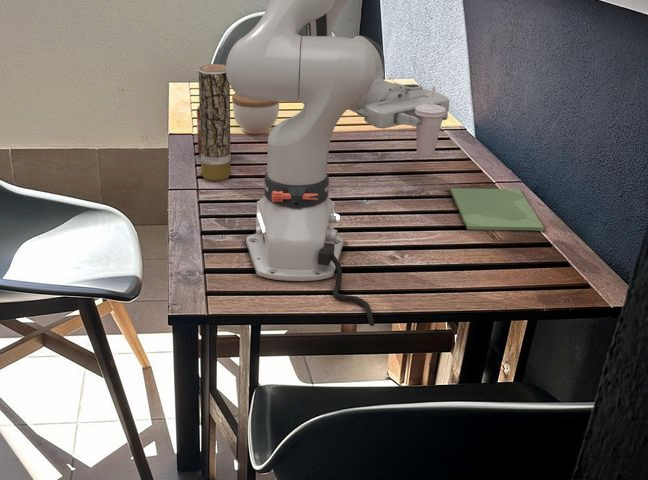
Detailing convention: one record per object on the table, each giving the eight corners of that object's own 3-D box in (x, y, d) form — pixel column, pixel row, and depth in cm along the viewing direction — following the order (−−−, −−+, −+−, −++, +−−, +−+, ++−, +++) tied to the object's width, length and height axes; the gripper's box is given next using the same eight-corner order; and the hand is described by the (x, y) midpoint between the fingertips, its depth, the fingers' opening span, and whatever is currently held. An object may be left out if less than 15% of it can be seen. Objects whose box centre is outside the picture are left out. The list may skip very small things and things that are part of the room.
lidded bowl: (254, 140, 210) (254, 97, 205) (222, 129, 218) (222, 88, 213) (288, 129, 217) (290, 88, 212) (256, 119, 226) (257, 79, 220)
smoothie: (444, 150, 177) (453, 86, 170) (434, 159, 172) (442, 93, 165) (416, 145, 180) (423, 82, 173) (405, 154, 175) (412, 89, 168)
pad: (543, 230, 161) (544, 227, 161) (466, 229, 162) (467, 225, 162) (519, 192, 178) (519, 189, 178) (449, 191, 179) (450, 188, 179)
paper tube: (227, 183, 185) (226, 72, 172) (198, 181, 186) (195, 71, 173) (233, 172, 191) (232, 64, 178) (205, 170, 192) (202, 63, 179)
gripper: (353, 96, 175) (396, 112, 165) (423, 83, 184) (468, 97, 174) (351, 125, 179) (393, 142, 168) (420, 110, 188) (464, 126, 177)
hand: (432, 119), depth 171 cm, fingers closed on smoothie, 6 cm apart
